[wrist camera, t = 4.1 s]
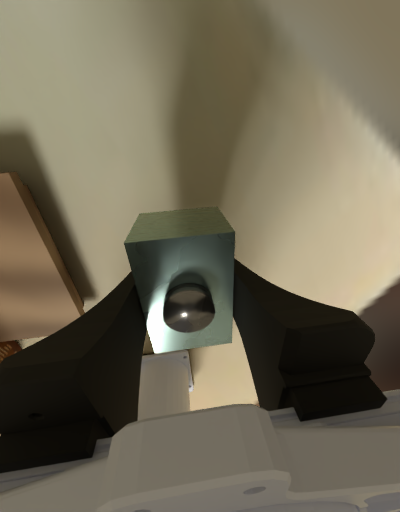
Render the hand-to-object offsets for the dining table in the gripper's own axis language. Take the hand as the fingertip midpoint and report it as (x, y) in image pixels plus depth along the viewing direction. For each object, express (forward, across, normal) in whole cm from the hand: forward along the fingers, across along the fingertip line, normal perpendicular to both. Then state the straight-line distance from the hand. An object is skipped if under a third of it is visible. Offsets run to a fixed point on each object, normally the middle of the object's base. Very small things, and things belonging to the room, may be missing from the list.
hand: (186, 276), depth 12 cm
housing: (+2, 0, 0) cm, 2 cm away
